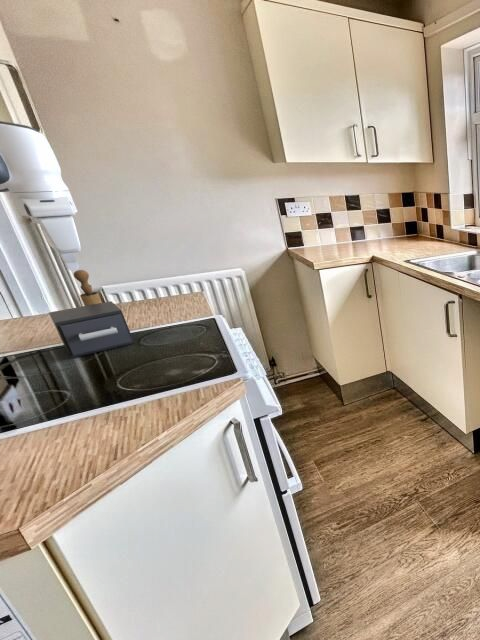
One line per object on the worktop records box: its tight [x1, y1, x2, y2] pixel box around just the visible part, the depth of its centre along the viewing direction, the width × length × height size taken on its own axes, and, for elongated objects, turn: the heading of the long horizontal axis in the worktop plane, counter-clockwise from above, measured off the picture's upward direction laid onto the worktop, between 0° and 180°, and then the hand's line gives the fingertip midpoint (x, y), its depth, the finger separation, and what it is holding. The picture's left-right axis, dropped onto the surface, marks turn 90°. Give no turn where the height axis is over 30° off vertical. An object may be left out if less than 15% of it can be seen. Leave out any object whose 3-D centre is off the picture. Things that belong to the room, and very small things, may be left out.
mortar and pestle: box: [73, 269, 103, 306], centre depth 123 cm, size 7×6×18 cm
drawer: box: [60, 314, 131, 355], centre depth 111 cm, size 17×11×8 cm
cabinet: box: [48, 301, 135, 359], centre depth 113 cm, size 14×13×10 cm
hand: (73, 269), depth 96 cm, fingers closed
